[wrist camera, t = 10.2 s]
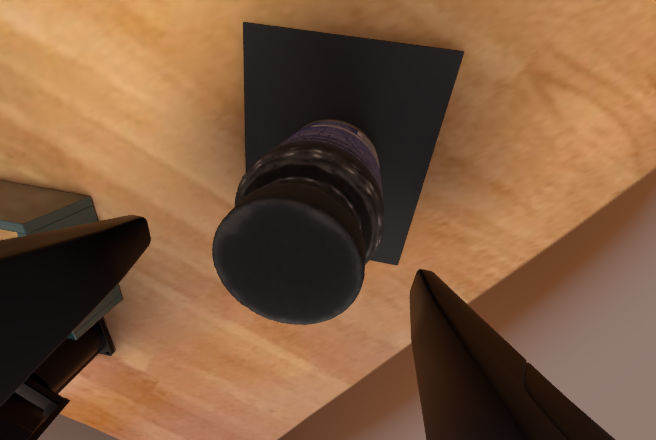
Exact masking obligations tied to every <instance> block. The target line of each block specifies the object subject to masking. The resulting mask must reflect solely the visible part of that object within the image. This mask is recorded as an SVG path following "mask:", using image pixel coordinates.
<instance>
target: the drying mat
mask: <svg viewBox="0 0 656 440" xmlns="http://www.w3.org/2000/svg"><path fill="white" fill-rule="evenodd" d="M243 45H244V101H245V157H246V172H247V171H248V170H249V168H250V167H251V166H252V165H253V164H254V163H255V161H256V160H257V159H259V158H260V157H262V156H263V155H264V154H265V153H267V152H269V151H270V150H272V149H273V148H275V147H276V146H277V145H279V144H280V143H282V142H283V141H285V140H286V139H287V138H289V137H290V136H292V135H293V134H294V133H296V132H297V131H299V130H300V129H302V128H303V127H305V126H306V125H308V124H309V123H312V122H314V121H317V120H322V119H338V120H342V121H346V122H349V123H351V124H353V125H355V126H356V127H358V128H360V129H361V130H362V131H363V132H364V133H365V134H366V135H367V137H368V138H369V139H370V140H371V142H372V143H373V145H374V147H375V149H376V152H377V155H378V160H379V167H380V176H381V186H382V196H383V203H384V212H385V215H384V229H383V235H382V239H381V241H380V244H379V246H378V248H377V250H376V252H375V253H374V255H373V256H372V258H371V259H370V260H372V261H377V262H382V263H388V264H393V265H398V263H399V260H400V256H401V253H402V250H403V247H404V244H405V240H406V237H407V234H408V231H409V228H410V224H411V221H412V218H413V215H414V212H415V208H416V205H417V202H418V199H419V196H420V192H421V189H422V186H423V183H424V179H425V176H426V173H427V170H428V167H429V163H430V160H431V157H432V154H433V151H434V147H435V144H436V141H437V138H438V135H439V131H440V128H441V125H442V122H443V119H444V115H445V112H446V109H447V106H448V103H449V99H450V96H451V93H452V90H453V87H454V83H455V80H456V77H457V74H458V70H459V67H460V64H461V61H462V58H463V54H464V51H458V50H450V49H443V48H435V47H428V46H420V45H413V44H405V43H398V42H390V41H383V40H375V39H368V38H360V37H353V36H345V35H338V34H330V33H323V32H315V31H308V30H300V29H293V28H285V27H278V26H270V25H263V24H255V23H248V22H243Z"/></svg>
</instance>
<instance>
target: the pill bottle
mask: <svg viewBox="0 0 656 440" xmlns="http://www.w3.org/2000/svg"><path fill="white" fill-rule="evenodd" d="M384 215H385V212H384V203H383V196H382V186H381V176H380V167H379V160H378V155H377V152H376V149H375V147H374V145H373V143H372V142H371V140H370V139H369V138H368V137H367V135H366V134H365V133H364V132H363V131H362V130H361V129H360V128H358V127H356V126H355V125H353V124H351V123H349V122H346V121H342V120H338V119H322V120H317V121H314V122H312V123H309V124H308V125H306V126H305V127H303V128H302V129H300V130H299V131H297V132H296V133H294V134H293V135H292V136H290V137H289V138H287V139H286V140H285V141H283V142H282V143H280V144H279V145H277V146H276V147H275V148H273V149H272V150H270V151H269V152H267V153H265V154H264V155H263V156H262V157H260V158H259V159H257V160H256V161H255V163H254V164H253V165H252V166H251V167H250V168H249V170H248V171H247V172H246V173H245V175H244V176H243V177H242V180H241V182H240V184H239V186H238V189H237V193H236V197H235V207H234V208H233V209H232V210H231V211H230V212H229V213H228V215H227V216H226V217H225V218H224V219H223V220H222V222H221V223H220V225H219V226H218V229H217V231H216V233H215V236H214V241H213V249H212V251H213V253H212V254H213V261H214V266H215V268H216V270H217V273H218V276H219V277H220V279H221V282H222V283H223V285H224V286H225V287H226V289H227V290H228V291H229V292H230V293H231V295H232V296H233V297H235V298H236V300H237V301H239V302H240V303H241V304H242V305H244V306H246V307H248V308H249V309H250V310H251V311H253V312H255V313H256V314H258V315H261V316H263V317H265V318H268V319H270V320H274V321H277V322H281V323H287V324H302V325H306V324H315V323H319V322H323V321H327V320H329V319H332V318H334V317H336V316H338V315H339V314H341V313H343V312H344V311H345V310H346V309H347V308H348V307H349V306H350V305H351V304H352V303H353V302H354V301H355V299H356V297H357V295H358V294H359V292H360V290H361V287H362V284H363V280H364V271H365V264H366V263H367V262H368V261H369V260H370V259H371V258H372V256H373V255H374V253H375V252H376V250H377V248H378V246H379V244H380V241H381V239H382V235H383V229H384Z"/></svg>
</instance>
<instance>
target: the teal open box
mask: <svg viewBox="0 0 656 440" xmlns="http://www.w3.org/2000/svg"><path fill="white" fill-rule="evenodd" d="M93 222H98V219H97V216H96V212H95V209H94V206H93V203H92V200H91V197H89V196H84V195H79V194H73V193H68V192H62V191H57V190H52V189H46V188H41V187H35V186H30V185H25V184H19V183H14V182H8V181H3V180H0V229H3V230H8V231H13V232H18V233H17V234H18V236H19V237H22V236H27V235H32V234H37V233H42V232H47V231H52V230H57V229H62V228H67V227H72V226H78V225H83V224H88V223H93ZM122 300H123V298H122V295H121V292H120V289H119V285H118V284H117V286H116V287H115V288H114V289H113V290H112V291H111V292H110V293H109V294H108V295H107V296H106V297H105V298H104V299H103V300H102V301H101V302H100V303H99V304H98V305H97V307H96V308H95V309H94V310H93V311H92V312H91V313H90V314H89V315H88V316H87V317H86V318H85V319H84V320H83V321H82V322H81V323H80V324H79V325H78V326H77V327H76V328H75V329H74V331H73V332H72V333H71V334H70V335H69V336H68V337H67V338H69V339H74V340H77V339H78V338H79V337H80V336H82V335H83V334H84V333H85V332H86V331H87V330H88V329H90V328H91V327H92V326H93V325H94V324H95V323H96V322H98V321H99V320H100V319H101V318H102V317H103V316H104V315H106V314H107V313H108V312H109V311H110V310H111V309H112V308H114V307H115V306H116V305H117V304H118V303H119V302H121V301H122Z"/></svg>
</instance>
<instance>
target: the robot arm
mask: <svg viewBox="0 0 656 440" xmlns="http://www.w3.org/2000/svg"><path fill="white" fill-rule="evenodd" d="M150 241H151V237H150V232H149V227H148V223H147V220H146V219H145V218H144V217H140V216H135V215H128V216H123V217H118V218H113V219H108V220H103V221H98V222H93V223H88V224H83V225H78V226H72V227H67V228H62V229H57V230H52V231H47V232H42V233H37V234H32V235H27V236H22V237H17V238H11V239H6V240H1V241H0V440H37V439H38V438H39V437H40V435H41V434H42V433H43V432H44V431H45V430H46V428H47V427H48V426H49V425H50V424H51V422H52V421H53V420H54V419H55V418H56V417H57V415H58V414H59V413H60V412H61V411H62V410H63V408H64V407H65V406H66V405H67V404H68V403H69V401H70V400H68V399H67V398H63V397H61V396H60V395H58V393H59V392H60V391H61V390H62V389H63V388H64V387H65V386H66V385H67V384H68V383H69V382H70V381H71V380H72V379H73V378H74V377H75V376H76V375H77V374H78V373H79V372H80V371H81V370H82V369H83V368H84V367H85V366H87V365H88V364H89V363H90V362H91V361H92V360H93V359H94V358H95V357H96V356H97V355H98V354H104V355H108V356H111V355H112V354H113V353H114V352H115V350H114V348H113V345H112V342H111V340H110V337H109V335H108V332H107V329H106V327H105V324H104V321H103V319H102V318H101V319H100V320H99V321H98V322H96V323H95V324H94V325H93V326H92V327H91V328H90V329H88V330H87V331H86V332H85V333H84V334H83V335H82V336H80V337H79V338H78V339H77V340H74V339H69V338H67V337H68V336H69V335H70V334H71V333H72V332H73V331H74V329H75V328H76V327H77V326H78V325H79V324H80V323H81V322H82V321H83V320H84V319H85V318H86V317H87V316H88V315H89V314H90V313H91V312H92V311H93V310H94V309H95V308H96V307H97V305H98V304H99V303H100V302H101V301H102V300H103V299H104V298H105V297H106V296H107V295H108V294H109V293H110V292H111V291H112V290H113V289H114V288H115V287H116V286H117V284H118V283H119V282H120V281H121V280H122V279H123V277H124V276H125V275H126V274H127V273H128V271H129V270H130V269H131V268H132V266H133V265H134V264H135V262H136V261H137V260H138V259H139V257H140V256H141V255H142V254H143V252H144V251H145V250H146V249H147V247H148V246H149V244H150ZM410 319H411V341H412V349H413V356H414V362H415V369H416V375H417V381H418V388H419V394H420V401H421V407H422V414H423V420H424V426H425V433H426V439H427V440H615V439H614V438H613V437H612V436H610V435H609V434H608V433H607V432H606V431H605V430H604V429H602V428H601V427H600V426H599V425H598V424H597V423H595V422H594V421H593V420H592V419H591V418H590V417H588V416H587V415H586V414H585V413H584V412H583V411H581V410H580V409H579V408H578V407H577V406H576V405H575V404H574V403H572V402H571V401H570V400H569V399H568V398H567V397H566V396H564V395H563V394H562V393H561V392H560V391H559V390H558V389H557V388H556V387H555V386H554V385H552V384H551V383H550V382H549V381H548V380H547V379H546V378H545V377H544V376H543V375H542V374H541V373H540V372H538V371H537V370H536V369H535V368H534V367H533V366H532V365H531V364H530V363H526V360H525V359H524V357H522V356H521V355H520V354H519V353H518V352H517V351H516V350H515V349H514V348H513V347H512V346H511V345H510V344H509V343H508V342H507V341H506V340H504V339H503V338H502V337H501V336H500V335H499V334H498V333H497V332H496V331H495V330H494V329H493V328H492V327H491V326H490V325H488V323H486V322H485V321H484V320H483V319H482V318H481V317H480V316H479V315H478V314H477V313H476V312H475V311H474V310H473V309H472V308H471V307H470V306H468V305H467V304H466V303H465V302H464V301H463V300H462V299H461V298H460V297H459V296H458V295H457V294H456V293H455V292H454V291H453V290H452V289H450V288H449V287H448V286H447V285H446V284H445V283H444V282H443V281H442V280H441V279H440V278H439V277H438V276H437V275H436V274H435V273H433V272H432V271H428V270H422V269H419V270H418V271H417V273H416V276H415V278H414V281H413V284H412V287H411V290H410Z"/></svg>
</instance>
